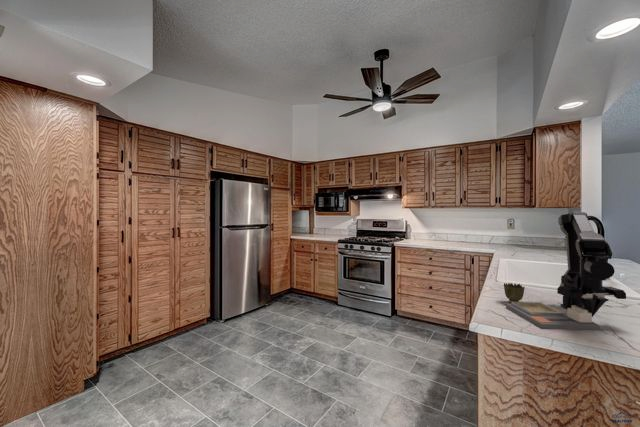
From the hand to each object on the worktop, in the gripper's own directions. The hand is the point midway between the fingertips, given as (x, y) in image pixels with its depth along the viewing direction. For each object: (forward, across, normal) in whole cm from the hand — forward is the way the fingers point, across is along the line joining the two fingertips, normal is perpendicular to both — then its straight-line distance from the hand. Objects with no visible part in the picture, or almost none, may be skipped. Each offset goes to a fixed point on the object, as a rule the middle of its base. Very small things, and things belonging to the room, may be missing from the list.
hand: (590, 316), depth 97 cm
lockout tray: (+2, +12, -10) cm, 15 cm away
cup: (+3, +12, -22) cm, 25 cm away
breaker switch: (+1, +4, 0) cm, 4 cm away
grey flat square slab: (+3, +10, -6) cm, 12 cm away
